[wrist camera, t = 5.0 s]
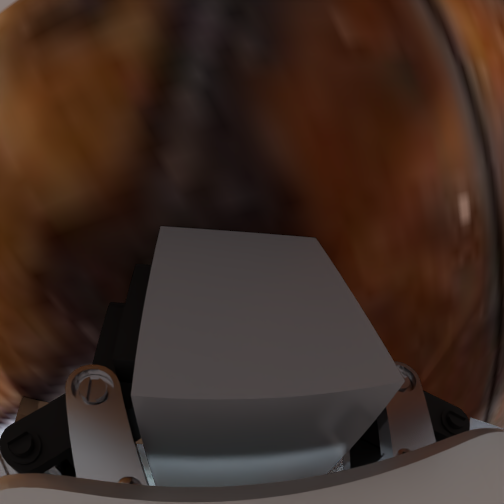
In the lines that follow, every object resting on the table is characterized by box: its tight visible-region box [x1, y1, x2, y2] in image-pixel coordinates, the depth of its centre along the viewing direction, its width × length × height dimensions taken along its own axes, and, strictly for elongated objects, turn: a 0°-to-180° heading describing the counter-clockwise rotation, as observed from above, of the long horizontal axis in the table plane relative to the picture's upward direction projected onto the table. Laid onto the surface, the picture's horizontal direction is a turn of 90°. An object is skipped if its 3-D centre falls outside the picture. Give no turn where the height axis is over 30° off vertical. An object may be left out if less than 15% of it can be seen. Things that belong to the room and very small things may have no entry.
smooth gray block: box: [131, 226, 405, 487], centre depth 9 cm, size 5×5×6 cm
